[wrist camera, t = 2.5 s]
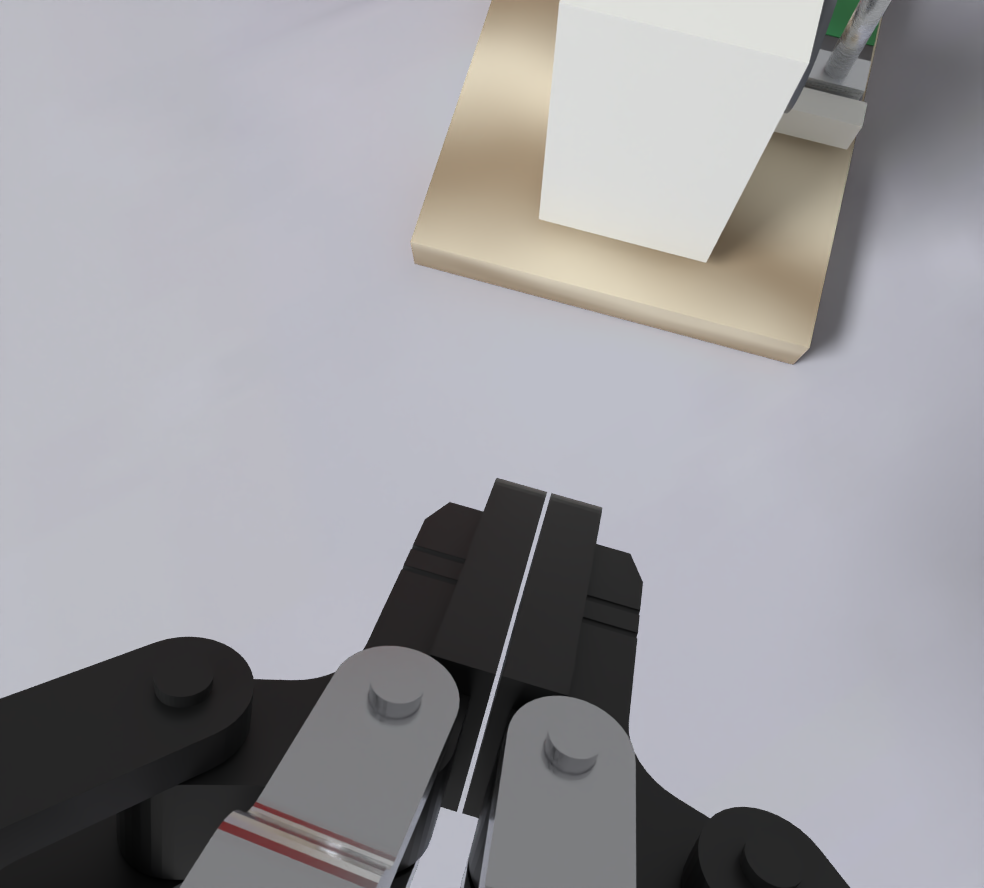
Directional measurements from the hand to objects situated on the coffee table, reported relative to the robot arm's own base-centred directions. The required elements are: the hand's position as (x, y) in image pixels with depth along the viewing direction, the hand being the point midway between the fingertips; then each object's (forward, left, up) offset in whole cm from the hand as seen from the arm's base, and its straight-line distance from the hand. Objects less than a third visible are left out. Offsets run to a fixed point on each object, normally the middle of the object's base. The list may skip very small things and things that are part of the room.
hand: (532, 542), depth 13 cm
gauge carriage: (-6, +14, -12) cm, 19 cm away
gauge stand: (-9, +16, -14) cm, 23 cm away
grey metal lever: (-4, +17, -12) cm, 21 cm away
